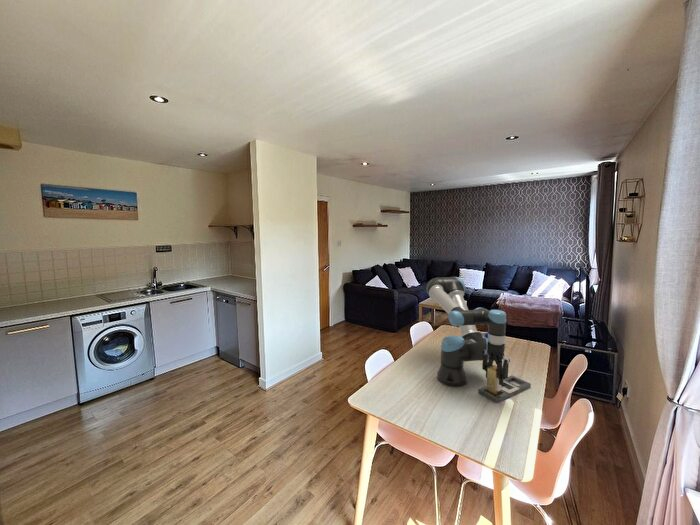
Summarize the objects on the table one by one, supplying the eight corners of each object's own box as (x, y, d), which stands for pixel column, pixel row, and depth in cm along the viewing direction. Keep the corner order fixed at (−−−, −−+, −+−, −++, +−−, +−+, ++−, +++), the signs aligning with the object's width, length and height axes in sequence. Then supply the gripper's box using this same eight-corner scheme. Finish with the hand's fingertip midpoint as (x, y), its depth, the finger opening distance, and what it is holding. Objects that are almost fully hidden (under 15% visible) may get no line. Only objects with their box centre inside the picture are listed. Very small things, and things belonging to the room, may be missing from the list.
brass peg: (494, 398, 141) (496, 369, 139) (486, 394, 145) (487, 366, 143) (500, 396, 143) (502, 367, 142) (492, 391, 147) (493, 363, 146)
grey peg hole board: (496, 403, 137) (496, 399, 137) (478, 393, 146) (478, 389, 146) (530, 387, 151) (530, 383, 151) (511, 378, 160) (512, 374, 159)
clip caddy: (494, 349, 198) (494, 342, 198) (474, 340, 215) (475, 333, 215) (505, 347, 201) (505, 340, 201) (485, 338, 218) (485, 331, 218)
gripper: (518, 346, 135) (516, 394, 138) (484, 335, 151) (483, 377, 153) (508, 350, 132) (506, 398, 134) (475, 337, 147) (473, 381, 150)
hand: (493, 387), depth 144 cm, fingers closed on brass peg, 5 cm apart
